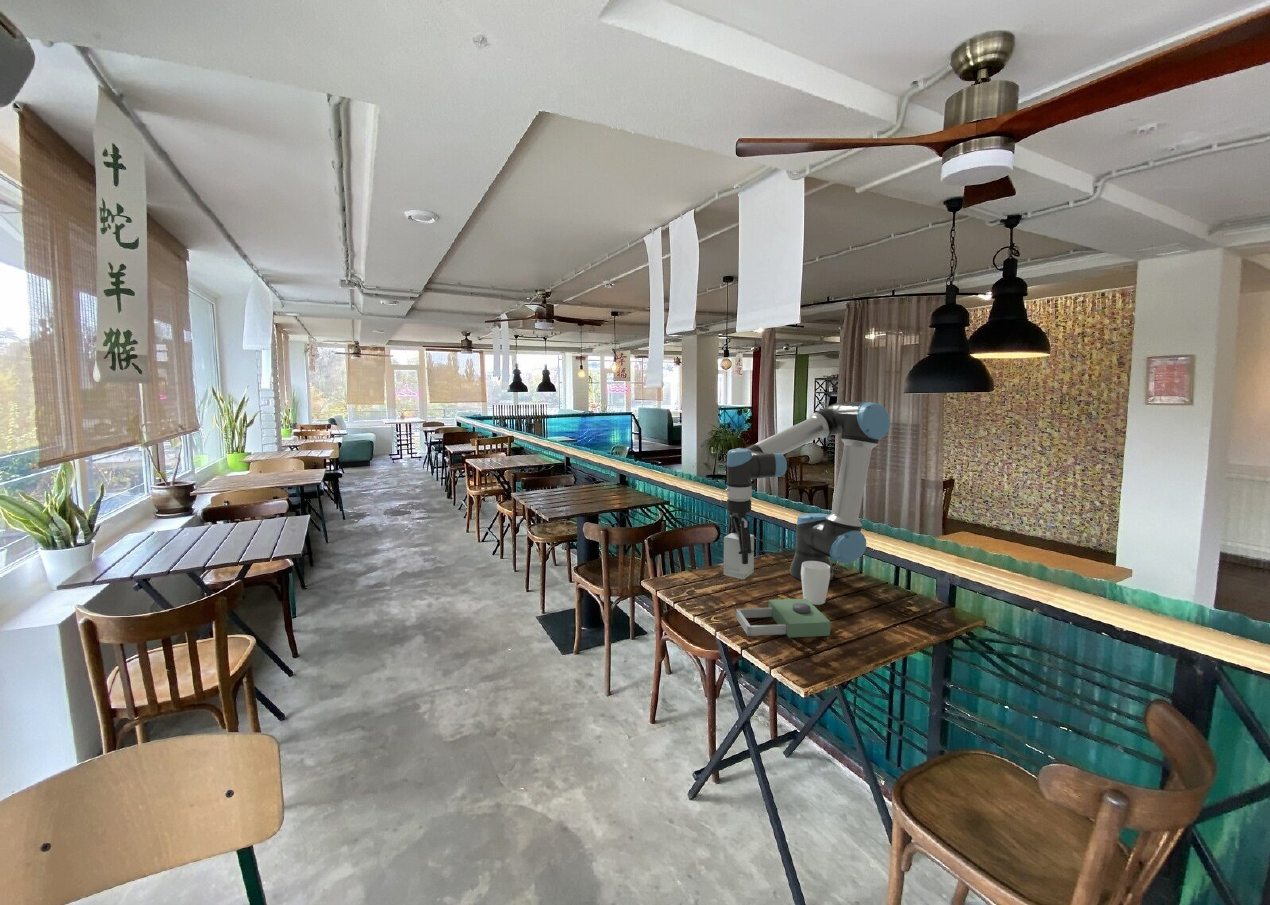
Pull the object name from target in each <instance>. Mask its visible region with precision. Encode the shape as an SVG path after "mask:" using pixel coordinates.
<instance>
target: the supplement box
mask: <svg viewBox="0 0 1270 905" xmlns="http://www.w3.org/2000/svg"><path fill="white" fill-rule="evenodd" d="M750 540H751V551H752V553H749V573H747V574H740V573H739V553H738V552H740V544H739V538H738V532H737V533H731V534H729V535H728V534H727V535H726V536H724V537H723V576H727V577H730V578H735V579H740V580H745V579H746V578H748V577H749V576H751V575H752V574H753V573H754V571H755V569H754V565H755V564H754V562H755V560H754V559H755V554H754V553H755V552H754V551H755V535H754V534H751V533H750ZM745 550H747V549H745Z"/></svg>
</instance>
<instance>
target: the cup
mask: <svg viewBox="0 0 1270 905" xmlns="http://www.w3.org/2000/svg"><path fill="white" fill-rule="evenodd" d="M830 581H831V580H830V566H829V565H828V564H826V563H823V562H819V561H805V562H803V563H802V567H801V588H802V597H803V598H802V599H807V600H808V601H809V602H810V603H811V604H812V605H814V606H821V605H824V604H825V603H826V599H827V595H828V589H829V585H830Z"/></svg>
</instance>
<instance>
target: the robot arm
mask: <svg viewBox="0 0 1270 905" xmlns="http://www.w3.org/2000/svg"><path fill="white" fill-rule="evenodd" d="M890 428H891V417H890V414H889V412H888V411H887V409H886V408H885V406H883V405H882V404H880V403H876V402H870V401H839V402H836V403H833V404H831V405H828V406H826V407H824V408H822V409H820V410H818V411H815V412H813V413H812V414H810V416H809V418H807V419H805V420H803V421H801V422H799V423H797V424H794V425H792V426H790V427H788V428H786V429H783V430H782V431H780V432H777V433H775V434H773V435H771V436H769V437H767V438H765V439H763V440H760V441H758V442H757V443H755V444H752V445H749V446H747V447H737V448H734V449H733V448H732V449H730V450H728V451H727V455H726V463H725V464H726V488H725V492H726V497H727V499H726V510H727V511H728V525H727V526H728V528H727V535H729V534H731V533H737V532H738V538H739V544H740V552H738V553H739V573H740V574H747V573H749V553H752V551H751V540H750V534H751V530H750V529H751V528H750V524H751V523H750V522H751V521H750V520H748V517H747V516H746V514H747V513H751V511H752V500H751V498H752V488H753V487H752V480H757V479H765V478H773V479H774V478H777V477H778V478H779V477H782V476H783V475H785V474H786V473H787V472H786V471H787V470H788V463H787V459H786V457H785V456H784V455H785V454H787V453H789V452H791V451H793V450H795V449H798V448H800V447H802V446H804V445H806V444H808V443H810V442H812V441H814V440H816V439H819V438H821V439H825V438H827V437H830V436H836V435H840V436H841V437H840V440H841V442H842V443H843V445H844V446H843V447H844V448H843V453H842V455H841V456H842V458H841V461H840V468H839V473H838V478H837V483H836V487H835V492H834V493H835V494H834V499H833V503H832V508H831V513H830V514H828V513H819V512H817V513H816V512H814V513H813V512H811V513H802V514H799V515H798V516H797V519H796V525H795V526H796V532H795V535H796V536H795V553H794V556H793V558H792V562H791V564H790V567H789V574H790V576H792V577H793V578H794V579H797V580H799V581H800V580H801V567H802V563H803V562H805V561H819V562H823V563H826V564H828V565H829V566H830V581H832V580H833V578H834V570H833V566H832V561H831V560H830V559H832V560H834V561H836V562H840V563H843V564H851V563H854V562H856V561H858V559H860V558H861V557H862V556H863V554H864V553H865V551H866V549H867V538H866V536H865V535H864V533H862V527H863V524H862V522H861V521H860V520H859V516H860V514H861V508H862V503H863V496H864V491H865V487H866V486H865V485H866V483H867V482H866V481H867V476H868V471H869V465H870V462H871V455H872V450H873V449H874V448H876V447H877V446H878V445H879V443H880V442H879V441H880V440H881V439H882V438H884V437H885V436H886V435H887V434H888V433H889V431H890ZM745 549H747V550H745ZM801 581H802V580H801Z"/></svg>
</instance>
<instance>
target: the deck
mask: <svg viewBox="0 0 1270 905" xmlns="http://www.w3.org/2000/svg"><path fill="white" fill-rule="evenodd" d="M734 615H735V619H736V620H737V621H738V623H739V625H740V626H741V627H742V629H743V630H744V632H745V634H746V635H747V637H753V636H755V637H756V636H771V635H772V636H773V635H775V636H776V635H785V636H787V637H788V638H790V639H791V638H804V637H805V638H806V637H826V636H831V625H832V622H831V620H829V619H828V618H827V617H826V616H825V615H824V614H823V613H822V612H821V610H819V609H818V608H817V607H816V605H814V604H811V603H810V602H809V601H808V600H807V599H803V598H790V599H788V598H787V599H786V598H785V599H769V600H768V607H751V608H750V607H749V608H735V614H734ZM749 618H750V619H751V618H772V620H774V621H775V623H776V624H759V625H758V624H755V625H751V624H750V622H749V621H748V620H747V619H749Z"/></svg>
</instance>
